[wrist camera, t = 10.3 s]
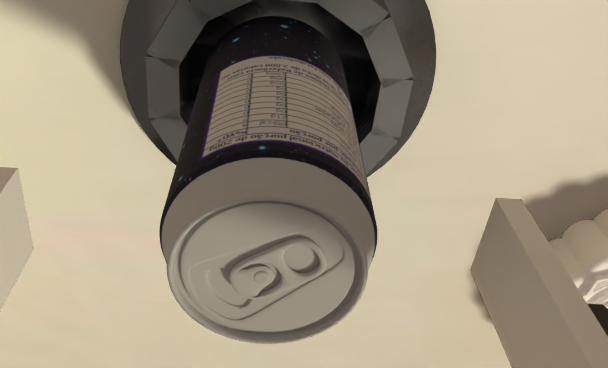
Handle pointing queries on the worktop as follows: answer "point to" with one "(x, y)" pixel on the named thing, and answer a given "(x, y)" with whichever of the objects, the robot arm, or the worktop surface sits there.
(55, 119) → the worktop surface
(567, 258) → the mooncake
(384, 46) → the ring collar
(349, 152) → the beverage can
